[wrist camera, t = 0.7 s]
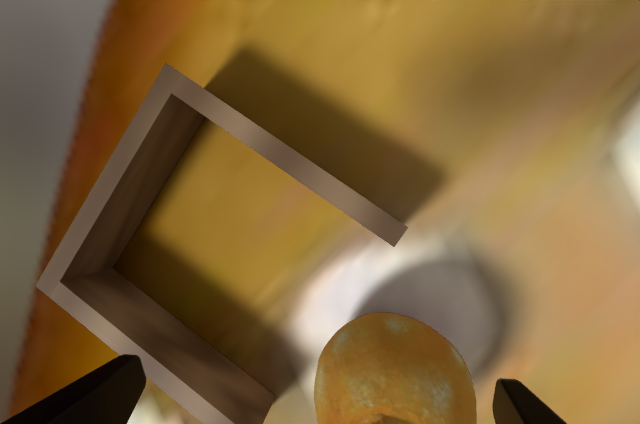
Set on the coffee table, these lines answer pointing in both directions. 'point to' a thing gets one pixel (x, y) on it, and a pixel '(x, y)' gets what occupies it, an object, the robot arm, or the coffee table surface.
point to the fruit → (392, 375)
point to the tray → (122, 221)
